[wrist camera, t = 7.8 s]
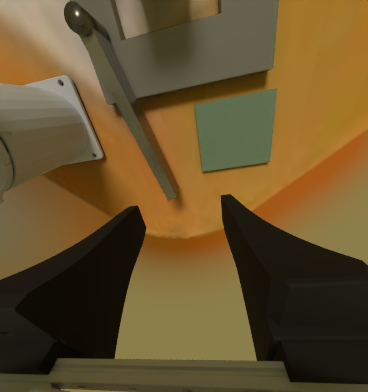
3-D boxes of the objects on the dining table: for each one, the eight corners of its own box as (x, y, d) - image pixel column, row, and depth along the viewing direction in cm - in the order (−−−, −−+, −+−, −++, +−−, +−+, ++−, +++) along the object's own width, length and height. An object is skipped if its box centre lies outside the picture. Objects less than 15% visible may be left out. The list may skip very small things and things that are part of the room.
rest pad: (202, 170, 19) (202, 171, 19) (194, 105, 16) (194, 105, 15) (268, 160, 18) (269, 161, 18) (274, 88, 15) (276, 88, 14)
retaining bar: (87, 29, 12) (59, 9, 10) (101, 19, 12) (76, -5, 9) (169, 189, 19) (166, 203, 16) (180, 185, 19) (178, 198, 16)
